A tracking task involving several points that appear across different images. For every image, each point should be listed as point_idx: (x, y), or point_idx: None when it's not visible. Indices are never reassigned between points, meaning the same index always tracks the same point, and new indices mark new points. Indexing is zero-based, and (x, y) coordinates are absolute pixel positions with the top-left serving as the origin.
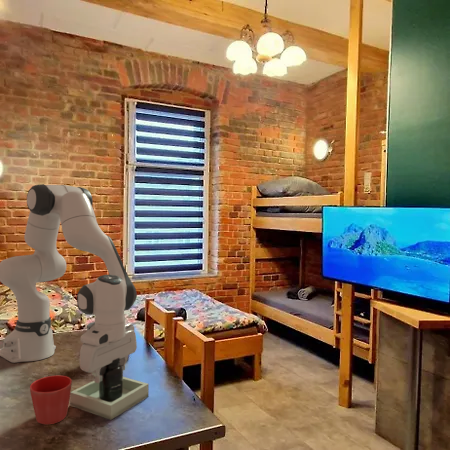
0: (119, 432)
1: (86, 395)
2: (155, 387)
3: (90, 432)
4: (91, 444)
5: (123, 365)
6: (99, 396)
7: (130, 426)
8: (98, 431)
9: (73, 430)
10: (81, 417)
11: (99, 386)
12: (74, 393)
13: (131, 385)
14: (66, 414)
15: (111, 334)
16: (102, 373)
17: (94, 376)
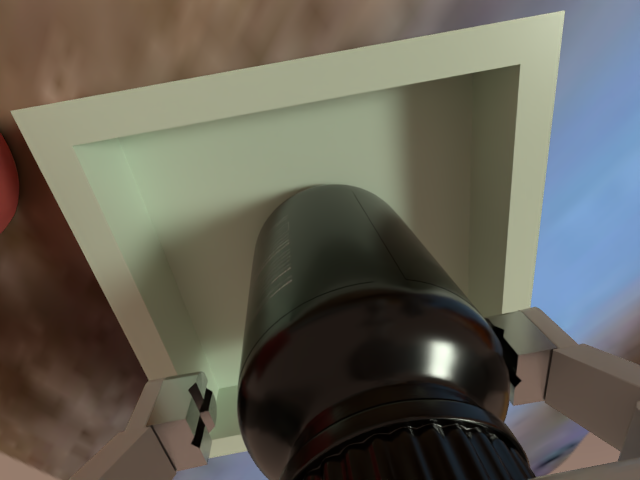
0: (183, 470)
1: (123, 275)
2: (587, 291)
3: (82, 414)
4: (54, 472)
5: (542, 399)
6: (257, 239)
7: (240, 464)
8: (116, 426)
9: (14, 361)
10: (94, 287)
11: (253, 274)
12: (43, 172)
13: (485, 288)
14: (2, 231)
15: None
16: (239, 428)
17: (126, 431)
